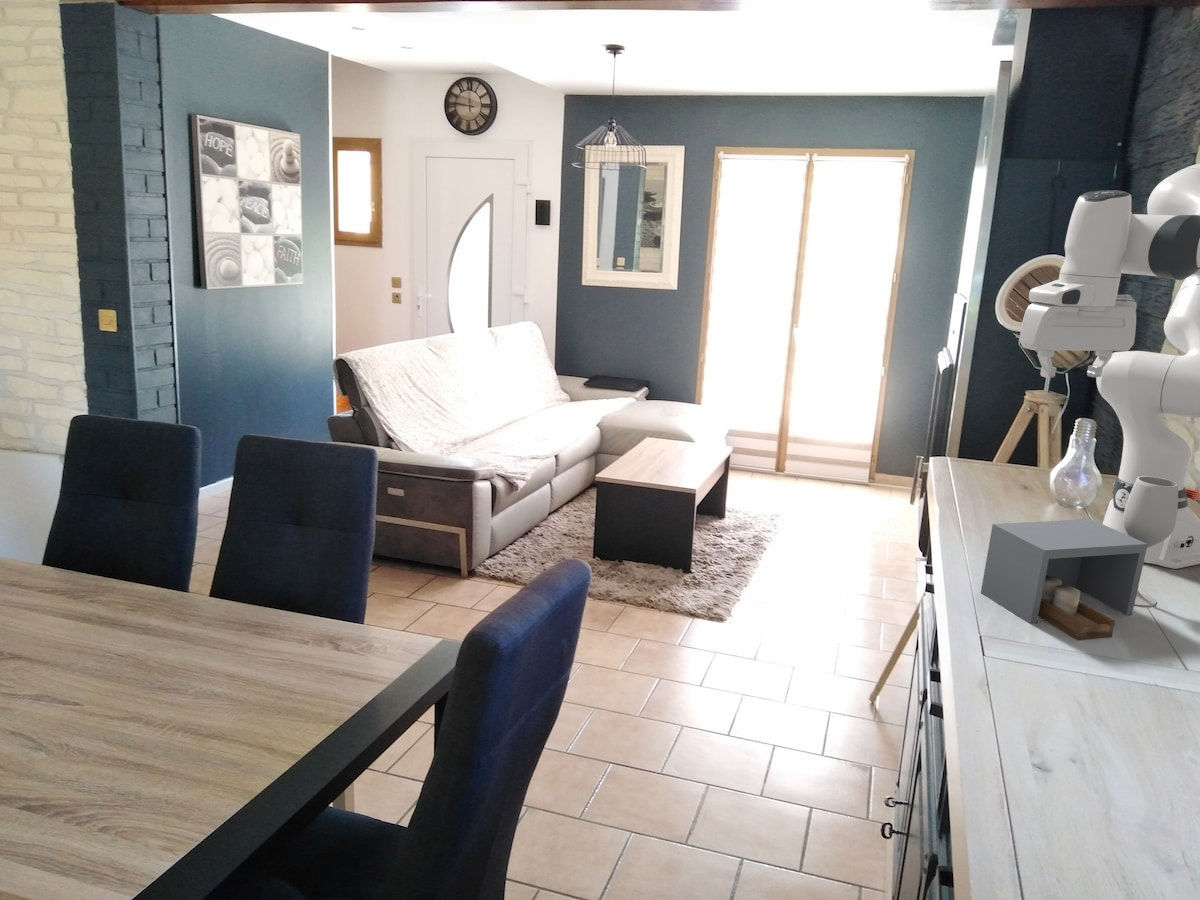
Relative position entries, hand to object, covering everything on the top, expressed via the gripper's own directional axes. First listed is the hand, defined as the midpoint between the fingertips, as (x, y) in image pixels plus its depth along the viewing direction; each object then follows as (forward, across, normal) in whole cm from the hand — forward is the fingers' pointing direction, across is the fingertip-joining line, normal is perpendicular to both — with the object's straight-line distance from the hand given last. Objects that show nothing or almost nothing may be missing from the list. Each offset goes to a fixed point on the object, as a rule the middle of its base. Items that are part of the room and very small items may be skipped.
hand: (1070, 376), depth 150 cm
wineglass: (+37, -13, +9) cm, 40 cm away
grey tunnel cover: (+37, +3, +9) cm, 38 cm away
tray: (+37, +6, +14) cm, 40 cm away
